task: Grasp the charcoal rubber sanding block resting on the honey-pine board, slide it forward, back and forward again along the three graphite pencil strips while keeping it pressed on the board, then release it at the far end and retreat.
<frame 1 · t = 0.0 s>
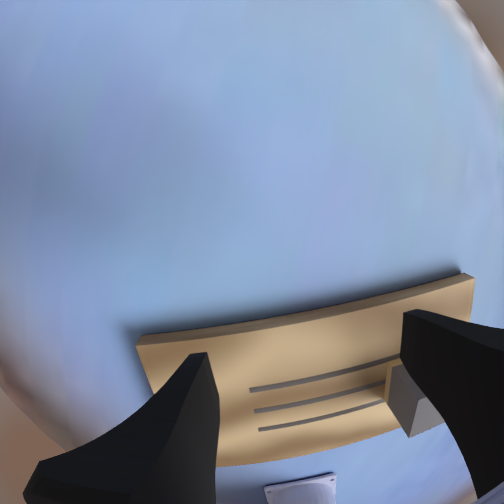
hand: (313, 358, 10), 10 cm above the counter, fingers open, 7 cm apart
board: (327, 384, 22), on the counter
sanding block: (421, 368, 21), point 2 cm above the counter, touching board
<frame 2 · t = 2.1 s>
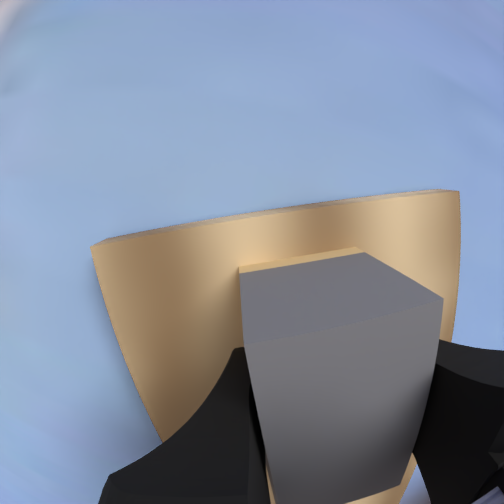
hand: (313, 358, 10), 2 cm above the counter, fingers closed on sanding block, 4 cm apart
board: (309, 447, 14), on the counter
sanding block: (308, 347, 11), point 2 cm above the counter, touching board, gripper
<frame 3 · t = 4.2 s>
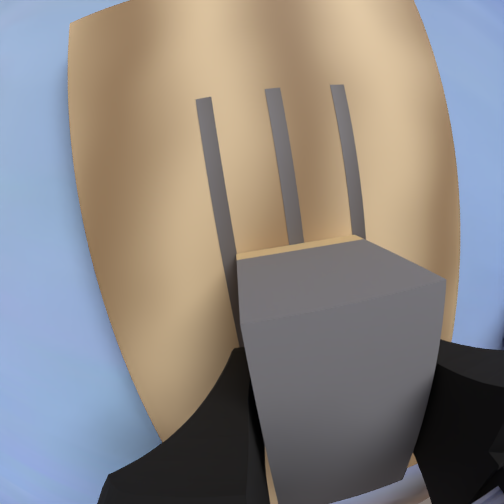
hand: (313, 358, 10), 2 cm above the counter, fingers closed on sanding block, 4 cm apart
board: (297, 306, 12), on the counter
sanding block: (307, 337, 11), point 2 cm above the counter, touching gripper
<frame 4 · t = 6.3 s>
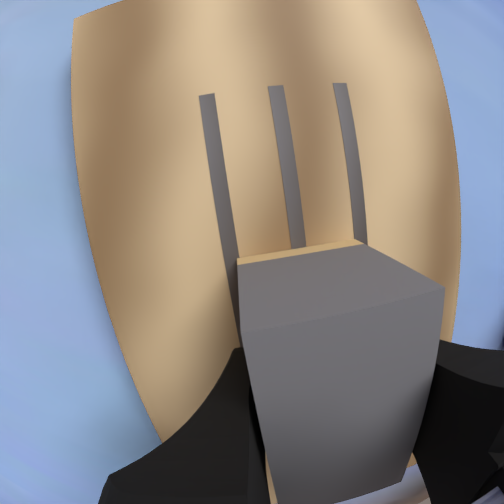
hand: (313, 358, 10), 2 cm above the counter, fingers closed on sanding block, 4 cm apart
board: (297, 303, 12), on the counter
sanding block: (307, 341, 11), point 2 cm above the counter, touching gripper
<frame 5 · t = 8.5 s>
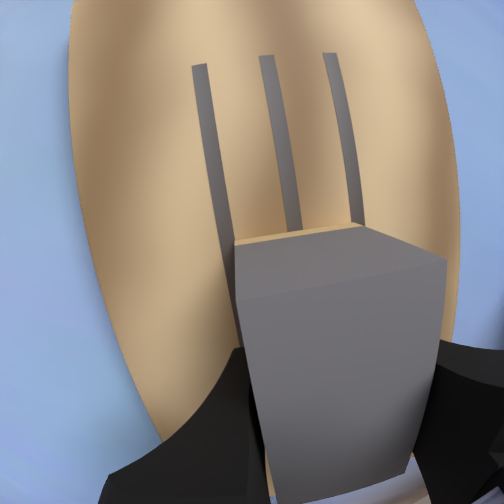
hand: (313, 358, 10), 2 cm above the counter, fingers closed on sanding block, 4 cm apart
board: (294, 276, 12), on the counter
sanding block: (306, 327, 10), point 2 cm above the counter, touching gripper
when the fingers open (2 cm above the counter, at t = 10.4 s): sanding block stays where it is, resting on board.
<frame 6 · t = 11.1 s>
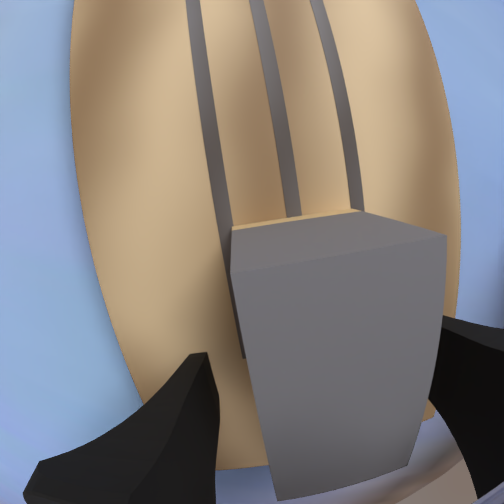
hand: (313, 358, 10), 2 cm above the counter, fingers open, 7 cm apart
board: (281, 180, 11), on the counter
sanding block: (305, 316, 10), point 2 cm above the counter, touching board
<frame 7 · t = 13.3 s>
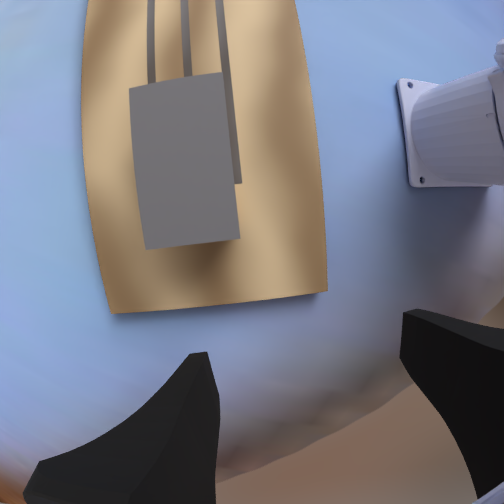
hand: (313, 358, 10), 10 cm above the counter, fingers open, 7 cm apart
board: (192, 95, 17), on the counter
sanding block: (196, 165, 16), point 2 cm above the counter, touching board
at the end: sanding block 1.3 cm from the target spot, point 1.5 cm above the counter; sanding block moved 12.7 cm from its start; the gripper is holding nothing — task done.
